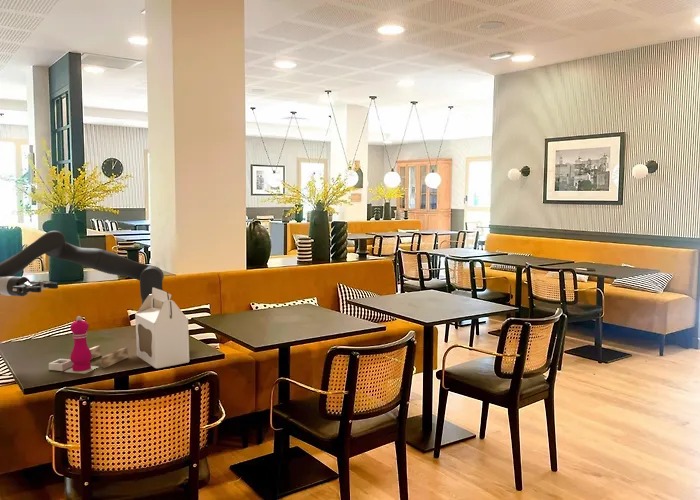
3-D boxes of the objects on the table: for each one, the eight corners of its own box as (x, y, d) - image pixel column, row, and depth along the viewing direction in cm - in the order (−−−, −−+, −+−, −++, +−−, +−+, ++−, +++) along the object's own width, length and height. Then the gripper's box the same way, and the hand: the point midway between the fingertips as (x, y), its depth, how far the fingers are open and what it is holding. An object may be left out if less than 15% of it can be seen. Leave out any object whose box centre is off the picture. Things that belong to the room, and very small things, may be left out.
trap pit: (60, 365, 221) (60, 358, 221) (73, 366, 219) (73, 359, 219) (48, 369, 215) (48, 363, 215) (62, 370, 214) (62, 364, 213)
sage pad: (79, 365, 220) (79, 364, 220) (99, 367, 218) (99, 366, 218) (64, 372, 212) (64, 371, 212) (85, 373, 210) (85, 372, 210)
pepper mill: (75, 366, 218) (72, 314, 216) (95, 365, 219) (92, 313, 217) (67, 372, 211) (64, 318, 209) (88, 371, 212) (85, 318, 210)
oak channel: (97, 355, 234) (97, 345, 234) (127, 357, 231) (127, 347, 230) (73, 365, 221) (73, 355, 220) (105, 367, 217) (104, 357, 217)
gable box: (189, 362, 224) (187, 291, 221) (156, 369, 215) (153, 295, 213) (168, 350, 241) (166, 284, 238) (136, 356, 233) (133, 287, 230)
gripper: (-3, 279, 215) (34, 280, 211) (27, 274, 229) (62, 275, 225) (-1, 299, 216) (35, 300, 212) (28, 292, 230) (63, 294, 226)
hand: (49, 287), depth 219 cm, fingers open, 8 cm apart
